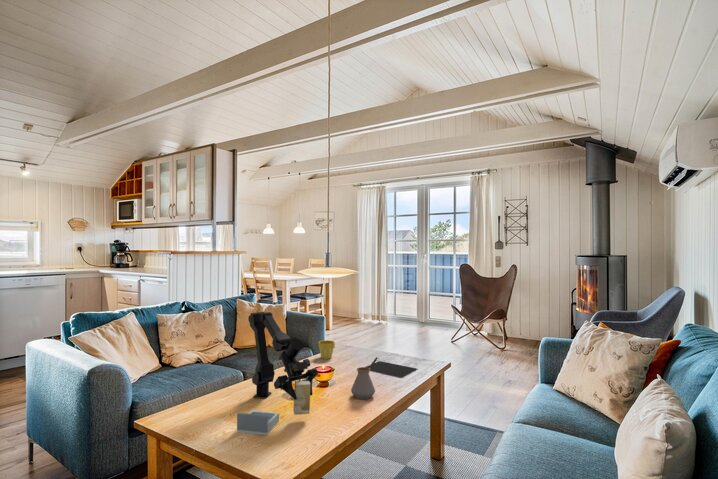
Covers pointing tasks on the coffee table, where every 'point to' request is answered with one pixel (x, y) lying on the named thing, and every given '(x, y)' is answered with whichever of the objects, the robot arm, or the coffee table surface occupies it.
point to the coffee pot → (363, 383)
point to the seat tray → (257, 422)
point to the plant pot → (326, 348)
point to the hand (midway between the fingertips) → (303, 397)
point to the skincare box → (302, 397)
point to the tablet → (391, 369)
